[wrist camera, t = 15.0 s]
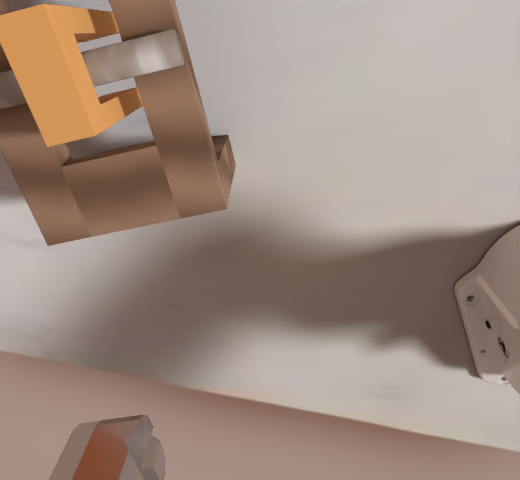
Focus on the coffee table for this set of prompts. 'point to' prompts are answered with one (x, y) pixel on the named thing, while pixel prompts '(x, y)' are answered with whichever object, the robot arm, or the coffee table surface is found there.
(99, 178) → the wooden table with hole
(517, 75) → the coffee table surface
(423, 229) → the coffee table surface
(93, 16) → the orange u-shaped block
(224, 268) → the coffee table surface
